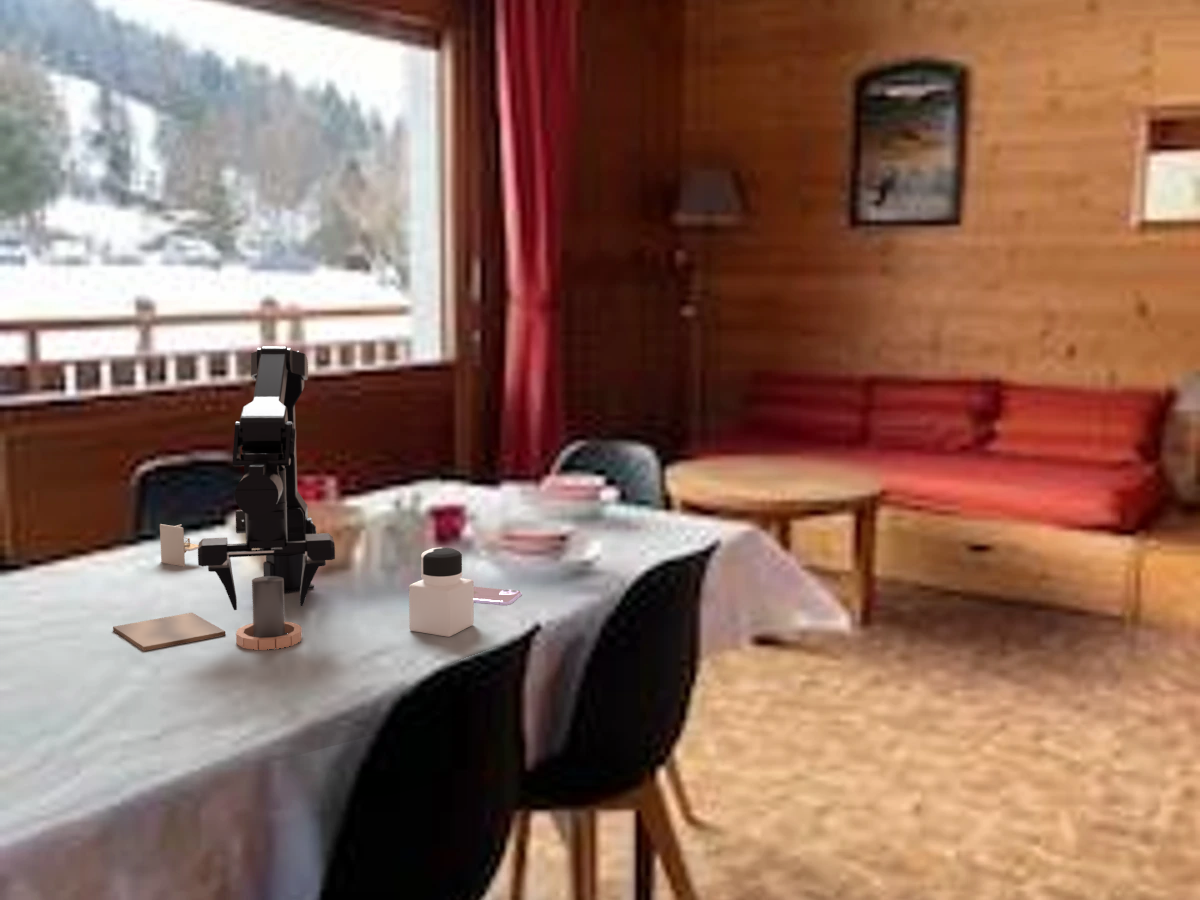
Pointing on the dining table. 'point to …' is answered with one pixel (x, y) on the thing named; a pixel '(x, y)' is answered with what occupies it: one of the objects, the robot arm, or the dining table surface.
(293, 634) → the orange segmented ring
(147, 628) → the coaster
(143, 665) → the dining table surface
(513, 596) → the mobile phone
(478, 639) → the dining table surface
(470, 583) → the medicine bottle
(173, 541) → the architectural model
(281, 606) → the cylinder
